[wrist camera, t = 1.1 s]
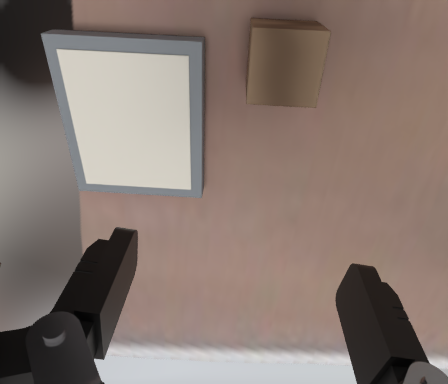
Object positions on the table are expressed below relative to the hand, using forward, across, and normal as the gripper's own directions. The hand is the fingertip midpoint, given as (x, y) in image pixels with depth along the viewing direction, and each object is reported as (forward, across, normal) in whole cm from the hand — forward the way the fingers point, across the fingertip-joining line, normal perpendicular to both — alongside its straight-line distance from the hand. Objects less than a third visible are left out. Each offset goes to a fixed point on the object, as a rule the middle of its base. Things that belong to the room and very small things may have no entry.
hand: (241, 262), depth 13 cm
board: (+20, +9, +3) cm, 22 cm away
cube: (+20, -2, -4) cm, 20 cm away
